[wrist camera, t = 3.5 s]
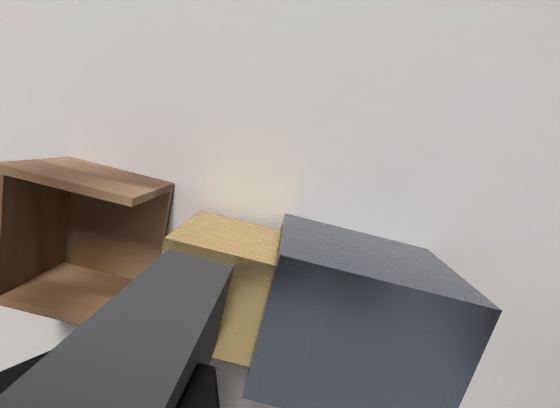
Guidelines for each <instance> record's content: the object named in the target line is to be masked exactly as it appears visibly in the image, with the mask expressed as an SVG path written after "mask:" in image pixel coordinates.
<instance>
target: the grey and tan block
mask: <svg viewBox="0 0 560 408" xmlns="http://www.w3.org/2000/svg"><path fill="white" fill-rule="evenodd" d="M281 234H282V231H280V230H276V229H272V228H268V227H264V226H260V225H256V224H252V223H248V222H244V221H240V220H236V219H232V218H228V217H225V216H221V215H217V214H213V213H209V212H205V211H199V212H198V213H197V214H195V215H194V216H193V217H191V218H190V219H189V220H187V221H186V222H185V223H183V224H182V225H181V226H179V227H178V228H177V229H175V230H174V231H173V232H171V233H170V234H169V235H167V236H166V237H165V238H164V242H163V248H162V253H161V256H160V257H159V258H158V259H157V260H155V261H154V262H153V263H152V264H151V265H150V266H148V267H147V268H146V269H145V270H144V271H143V272H142V273H140V274H139V275H138V276H137V277H136V278H135V279H133V280H132V281H131V282H130V283H129V284H128V285H126V286H125V287H124V288H123V289H122V290H121V291H120V292H118V293H117V294H116V295H115V296H114V297H113V298H111V299H110V300H109V301H108V302H107V303H106V304H104V305H103V306H102V307H101V308H100V309H99V310H98V311H96V312H95V313H94V314H93V315H92V316H91V317H89V318H88V319H87V320H86V321H85V322H84V323H82V324H81V325H80V326H79V327H78V328H77V329H76V330H74V331H73V332H72V333H71V334H70V335H69V336H67V337H66V338H65V339H64V340H63V341H62V342H60V343H59V344H58V345H57V346H56V347H55V348H54V349H52V350H51V351H50V352H49V353H48V354H47V355H45V356H44V357H43V358H42V359H41V360H40V361H38V362H37V363H36V364H35V365H34V366H33V367H31V368H30V369H29V370H28V371H27V372H26V373H25V374H23V375H22V376H21V377H20V378H19V379H18V380H16V381H15V382H14V383H13V384H12V385H11V386H9V387H8V388H7V389H6V390H5V391H4V392H3V393H1V394H0V408H175V407H176V405H177V403H178V401H179V399H180V397H181V395H182V393H183V391H184V389H185V387H186V385H187V383H188V381H189V379H190V377H191V375H192V373H193V371H194V369H195V367H196V365H197V364H198V363H203V364H207V365H209V363H210V360H211V358H215V359H219V360H223V361H227V362H231V363H235V364H239V365H243V366H247V367H250V365H251V361H252V357H253V353H254V350H255V346H256V342H257V338H258V334H259V331H260V327H261V323H262V319H263V315H264V311H265V308H266V304H267V300H268V296H269V292H270V289H271V285H272V281H273V277H274V273H275V270H276V266H277V262H278V256H279V249H280V241H281Z"/></svg>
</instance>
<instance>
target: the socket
mask: <svg viewBox="0 0 560 408" xmlns="http://www.w3.org/2000/svg"><path fill="white" fill-rule="evenodd" d="M173 188H174V183H171V182H167V181H163V180H159V179H155V178H151V177H147V176H143V175H139V174H135V173H131V172H127V171H123V170H119V169H115V168H111V167H107V166H103V165H99V164H95V163H92V162H88V161H84V160H80V159H76V158H72V157H61V158H48V159H34V160H20V161H7V162H0V305H1V306H5V307H9V308H13V309H17V310H21V311H25V312H29V313H33V314H37V315H41V316H45V317H49V318H53V319H57V320H61V321H65V322H69V323H73V324H77V325H81V324H82V323H84V322H85V321H86V320H87V319H88V318H89V317H91V316H92V315H93V314H94V313H95V312H96V311H98V310H99V309H100V308H101V307H102V306H103V305H104V304H106V303H107V302H108V301H109V300H110V299H111V298H113V297H114V296H115V295H116V294H117V293H118V292H120V291H121V290H122V289H123V288H124V287H125V286H126V285H128V284H129V283H130V282H131V281H132V280H133V279H135V278H136V277H137V276H138V275H139V274H140V273H142V272H143V271H144V270H145V269H146V268H147V267H148V266H150V265H151V264H152V263H153V262H154V261H155V260H157V259H158V258H159V257H160V256H161V253H162V248H163V242H164V238H165V234H166V228H167V222H168V217H169V211H170V205H171V199H172V194H173Z"/></svg>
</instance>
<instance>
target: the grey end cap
mask: <svg viewBox="0 0 560 408" xmlns="http://www.w3.org/2000/svg"><path fill="white" fill-rule="evenodd" d="M281 231H282V234H281V241H280V249H279V256H278V262H277V266H276V270H275V273H274V277H273V281H272V285H271V289H270V292H269V296H268V300H267V304H266V308H265V311H264V315H263V319H262V323H261V327H260V331H259V334H258V338H257V342H256V346H255V350H254V353H253V357H252V361H251V365H250V367H248V372H247V377H246V382H245V387H244V392H243V397H242V398H246V399H250V400H254V401H258V402H262V403H266V404H270V405H274V406H278V407H282V408H459V405H460V403H461V401H462V399H463V397H464V394H465V392H466V390H467V388H468V385H469V383H470V381H471V379H472V376H473V374H474V372H475V370H476V368H477V365H478V363H479V361H480V359H481V356H482V354H483V352H484V350H485V348H486V345H487V343H488V341H489V339H490V336H491V334H492V332H493V330H494V327H495V325H496V323H497V321H498V319H499V316H500V314H501V312H502V310H501V309H499V308H498V307H497V306H496V305H495V304H493V303H492V302H491V301H490V300H488V299H487V298H486V297H485V296H484V295H482V294H481V293H480V292H479V291H477V290H476V289H475V288H474V287H473V286H471V285H470V284H469V283H468V282H466V281H465V280H464V279H463V278H462V277H460V276H459V275H458V274H457V273H456V272H454V271H453V270H452V269H451V268H449V267H448V266H447V265H446V264H445V263H443V262H442V261H441V260H440V259H438V258H437V257H436V256H435V255H434V254H432V253H431V252H430V251H429V250H427V249H423V248H419V247H415V246H411V245H407V244H403V243H400V242H396V241H392V240H388V239H384V238H380V237H376V236H372V235H368V234H364V233H360V232H356V231H352V230H348V229H344V228H340V227H336V226H332V225H328V224H324V223H320V222H316V221H312V220H308V219H304V218H300V217H296V216H292V215H288V214H285V216H284V220H283V224H282V228H281Z"/></svg>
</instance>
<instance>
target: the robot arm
mask: <svg viewBox="0 0 560 408" xmlns="http://www.w3.org/2000/svg"><path fill="white" fill-rule="evenodd" d="M49 352H50V351H48V352H46V353H44V354H41V355H39V356H36V357H34V358H32V359H29V360H27V361H25V362H22V363H20V364H17V365H15V366H13V367H10V368H8V369H6V370H3V371H1V372H0V394H1V393H3V392H4V391H5V390H6V389H7V388H8V387H9V386H11V385H12V384H13V383H14V382H15V381H16V380H18V379H19V378H20V377H21V376H22V375H23V374H25V373H26V372H27V371H28V370H29V369H30V368H31V367H33V366H34V365H35V364H36V363H37V362H38V361H40V360H41V359H42V358H43V357H44V356H45V355H47V354H48V353H49ZM175 408H220V406H219V396H218V387H217V378H216V369H215V367H214V366H211V365H207V364H203V363H198V364H197V365H196V367H195V369H194V371H193V373H192V375H191V377H190V379H189V381H188V383H187V385H186V387H185V389H184V391H183V393H182V395H181V397H180V399H179V401H178V403H177V405H176V407H175Z"/></svg>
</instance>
